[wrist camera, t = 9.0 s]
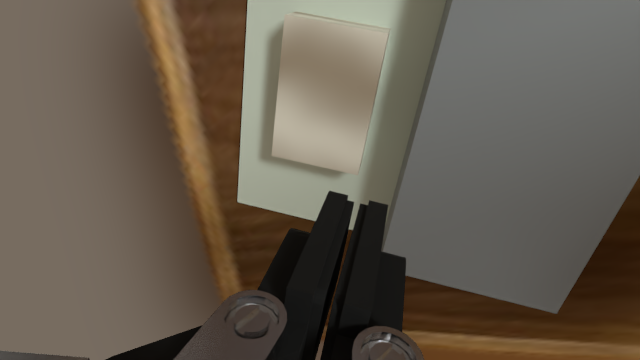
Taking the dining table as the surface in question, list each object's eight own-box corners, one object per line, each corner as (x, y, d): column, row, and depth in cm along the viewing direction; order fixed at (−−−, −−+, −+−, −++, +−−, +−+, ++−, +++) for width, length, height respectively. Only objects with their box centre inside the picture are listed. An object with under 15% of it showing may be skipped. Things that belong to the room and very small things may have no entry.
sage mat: (255, -132, 22) (254, -133, 22) (473, -102, 21) (474, -103, 21) (238, 200, 33) (237, 202, 32) (382, 235, 31) (382, 237, 31)
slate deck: (473, -102, 21) (485, -118, 17) (723, -68, 19) (791, -78, 16) (382, 235, 31) (378, 268, 28) (540, 274, 30) (556, 313, 26)
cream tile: (388, 33, 22) (390, 28, 24) (284, 14, 23) (296, 11, 25) (357, 175, 26) (362, 160, 28) (271, 155, 27) (282, 142, 29)
